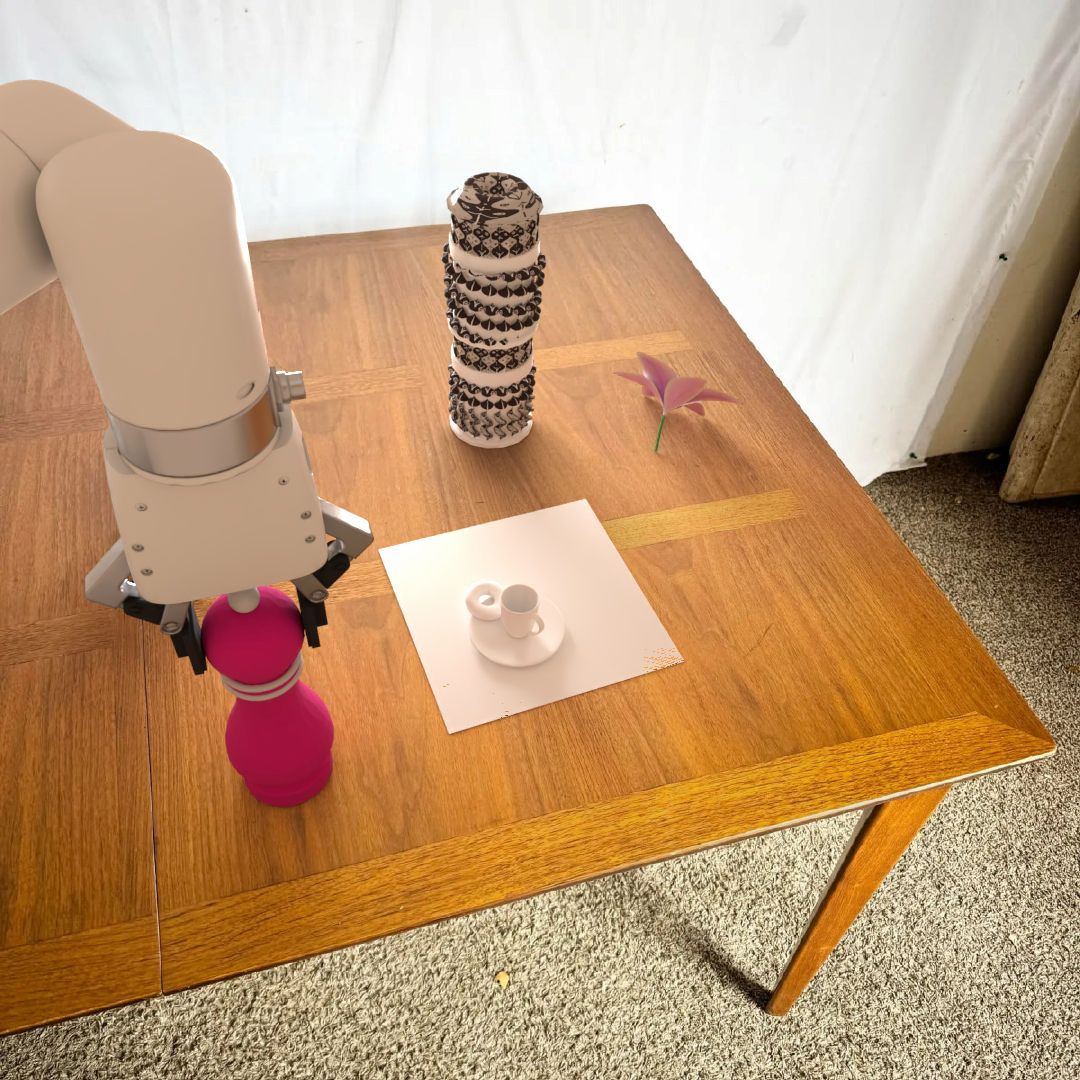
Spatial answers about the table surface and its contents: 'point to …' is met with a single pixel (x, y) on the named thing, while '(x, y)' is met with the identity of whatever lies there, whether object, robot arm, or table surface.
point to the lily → (673, 388)
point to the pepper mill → (269, 696)
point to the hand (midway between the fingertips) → (255, 641)
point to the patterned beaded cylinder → (493, 307)
